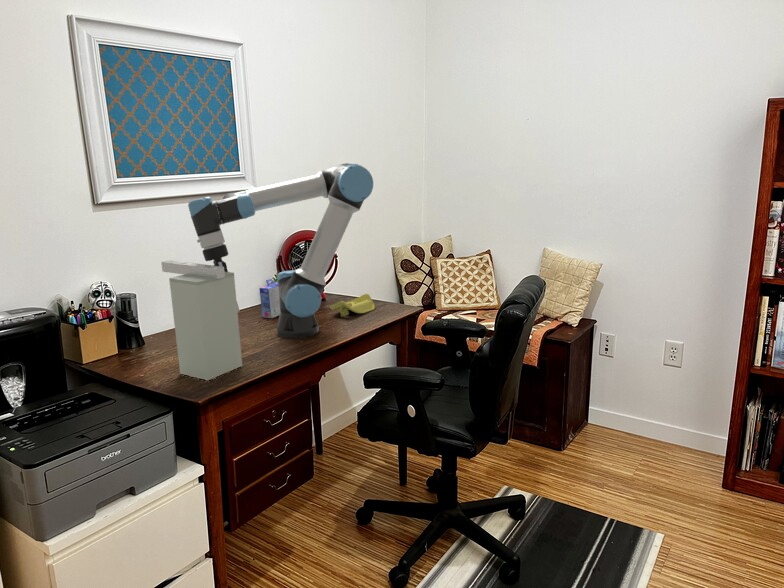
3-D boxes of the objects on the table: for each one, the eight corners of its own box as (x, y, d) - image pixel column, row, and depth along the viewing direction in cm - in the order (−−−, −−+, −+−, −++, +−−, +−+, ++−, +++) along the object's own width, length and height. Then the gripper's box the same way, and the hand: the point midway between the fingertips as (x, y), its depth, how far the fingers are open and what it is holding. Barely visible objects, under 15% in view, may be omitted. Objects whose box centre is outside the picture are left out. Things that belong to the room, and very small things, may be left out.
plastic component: (351, 300, 263) (370, 292, 258) (358, 316, 262) (376, 308, 257) (324, 308, 246) (343, 299, 241) (331, 325, 245) (351, 317, 240)
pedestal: (180, 374, 189) (169, 278, 182) (215, 360, 201) (206, 269, 194) (207, 381, 183) (197, 282, 176) (242, 366, 195) (233, 272, 187)
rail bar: (162, 271, 192) (161, 262, 191) (170, 269, 194) (169, 260, 194) (217, 279, 179) (216, 268, 179) (224, 276, 182) (223, 266, 181)
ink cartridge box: (277, 311, 257) (275, 276, 254) (287, 312, 255) (285, 278, 251) (261, 317, 249) (258, 281, 246) (271, 318, 246) (268, 283, 243)
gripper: (200, 248, 209) (219, 308, 213) (203, 251, 186) (225, 318, 190) (222, 242, 211) (241, 301, 215) (228, 244, 188) (249, 310, 192)
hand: (233, 309), depth 202 cm, fingers open, 13 cm apart
